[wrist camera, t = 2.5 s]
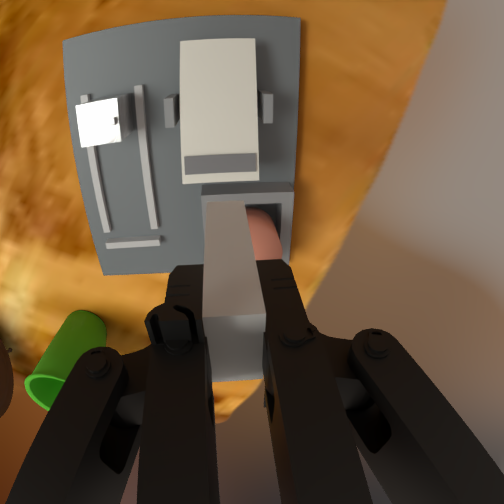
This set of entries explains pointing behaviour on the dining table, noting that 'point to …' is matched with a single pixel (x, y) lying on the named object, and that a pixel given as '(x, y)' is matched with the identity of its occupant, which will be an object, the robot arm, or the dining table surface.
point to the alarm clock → (5, 379)
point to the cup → (64, 355)
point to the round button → (263, 235)
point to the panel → (176, 138)
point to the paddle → (218, 110)
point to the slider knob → (105, 120)
